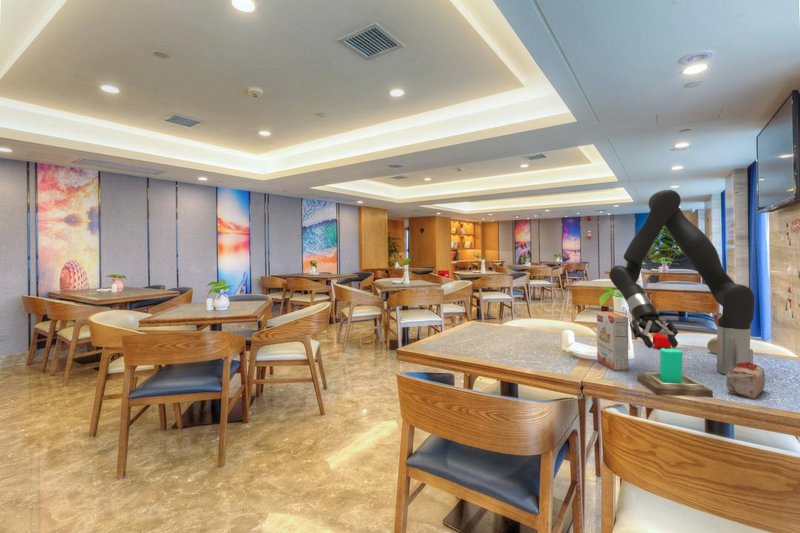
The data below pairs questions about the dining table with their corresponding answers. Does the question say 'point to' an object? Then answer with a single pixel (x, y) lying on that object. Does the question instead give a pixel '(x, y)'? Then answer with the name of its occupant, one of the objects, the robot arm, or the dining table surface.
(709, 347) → the beige rounded cylinder
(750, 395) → the food item
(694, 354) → the dining table surface
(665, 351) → the candle
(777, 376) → the dining table surface
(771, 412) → the dining table surface
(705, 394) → the walnut base board
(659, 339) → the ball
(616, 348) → the cracker box
